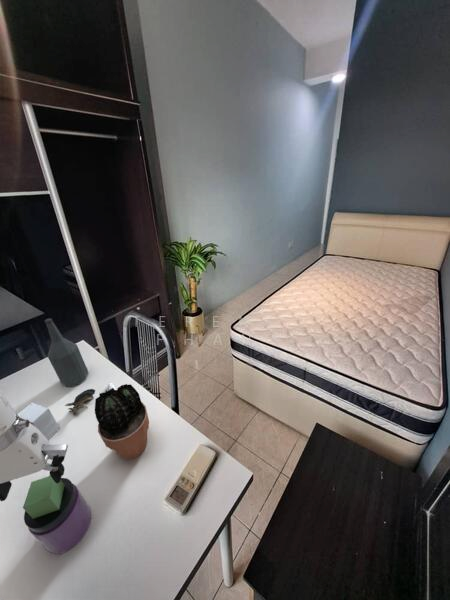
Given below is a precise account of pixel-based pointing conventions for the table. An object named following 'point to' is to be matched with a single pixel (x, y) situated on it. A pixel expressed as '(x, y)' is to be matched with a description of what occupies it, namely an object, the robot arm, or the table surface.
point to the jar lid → (56, 517)
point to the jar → (67, 528)
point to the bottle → (65, 358)
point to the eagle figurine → (81, 400)
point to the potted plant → (122, 421)
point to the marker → (110, 386)
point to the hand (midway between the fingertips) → (34, 484)
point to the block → (43, 497)
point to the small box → (40, 419)
